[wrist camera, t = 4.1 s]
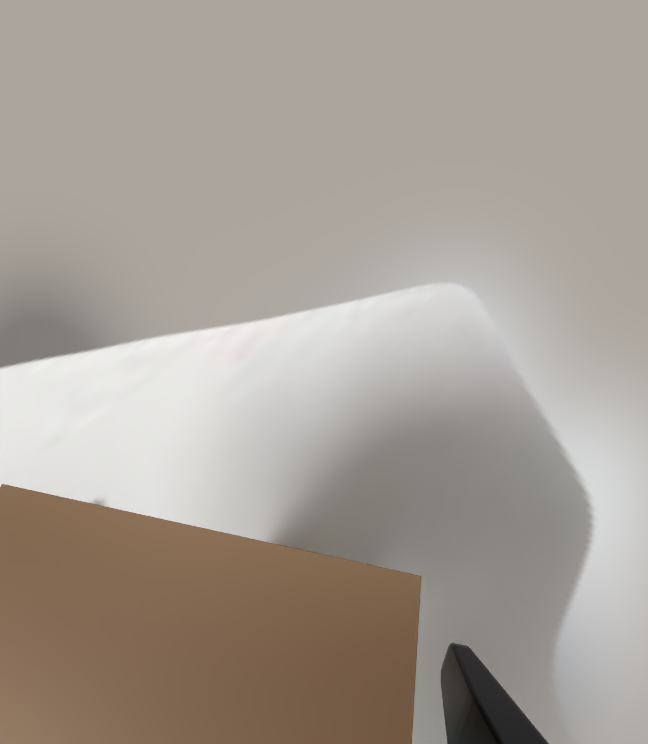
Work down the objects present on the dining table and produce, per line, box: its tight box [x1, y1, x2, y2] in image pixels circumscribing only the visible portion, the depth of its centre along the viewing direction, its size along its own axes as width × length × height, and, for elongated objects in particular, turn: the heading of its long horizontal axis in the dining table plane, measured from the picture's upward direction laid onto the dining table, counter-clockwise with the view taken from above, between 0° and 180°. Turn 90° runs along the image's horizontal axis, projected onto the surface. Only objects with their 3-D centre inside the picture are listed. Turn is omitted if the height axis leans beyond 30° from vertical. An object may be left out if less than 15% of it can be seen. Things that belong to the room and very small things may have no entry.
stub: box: [0, 484, 421, 744], centre depth 9 cm, size 4×5×14 cm
